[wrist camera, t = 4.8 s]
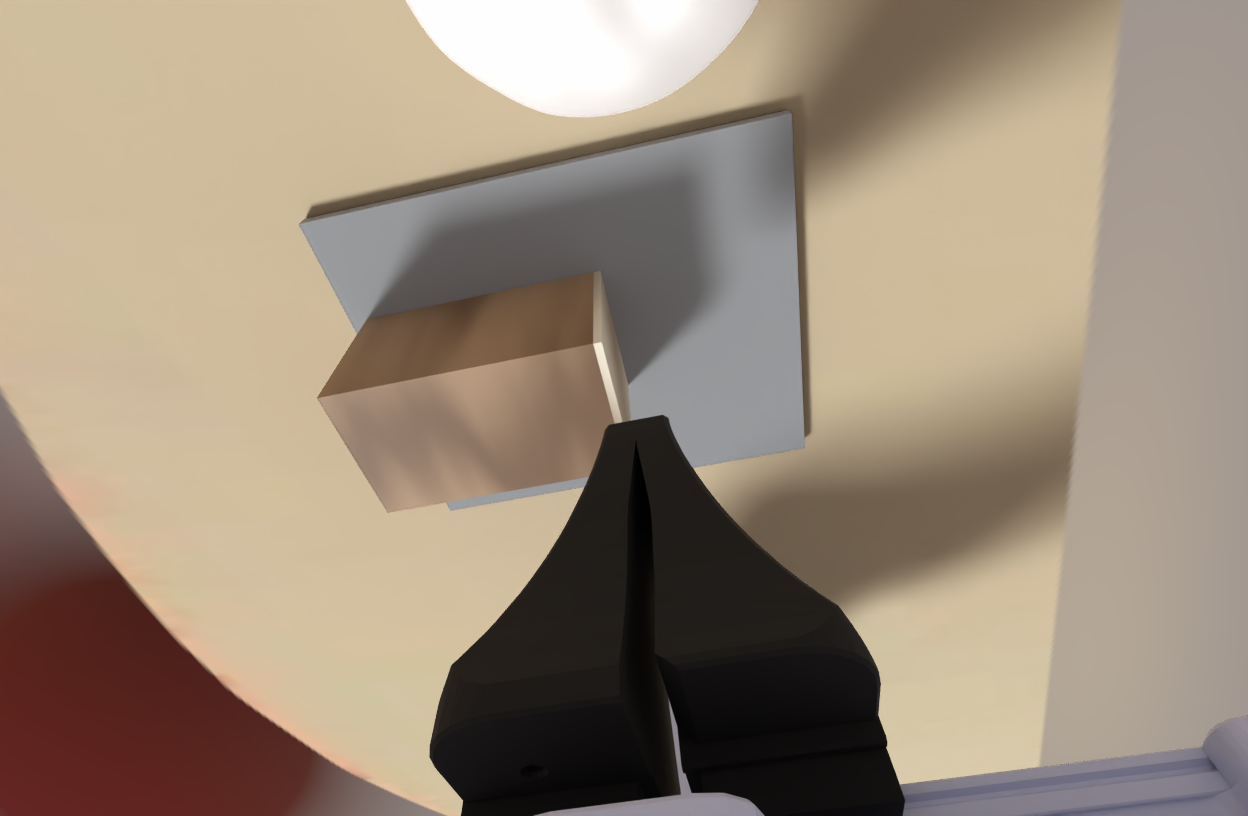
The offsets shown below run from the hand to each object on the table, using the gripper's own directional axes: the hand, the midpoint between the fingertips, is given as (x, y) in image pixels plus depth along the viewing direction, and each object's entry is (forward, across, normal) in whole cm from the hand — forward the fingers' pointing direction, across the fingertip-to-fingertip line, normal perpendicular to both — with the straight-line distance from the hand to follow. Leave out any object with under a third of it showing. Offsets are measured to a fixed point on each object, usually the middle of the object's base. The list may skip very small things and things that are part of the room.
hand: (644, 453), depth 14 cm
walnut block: (+4, 0, 0) cm, 4 cm away
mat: (+6, +2, 0) cm, 6 cm away
